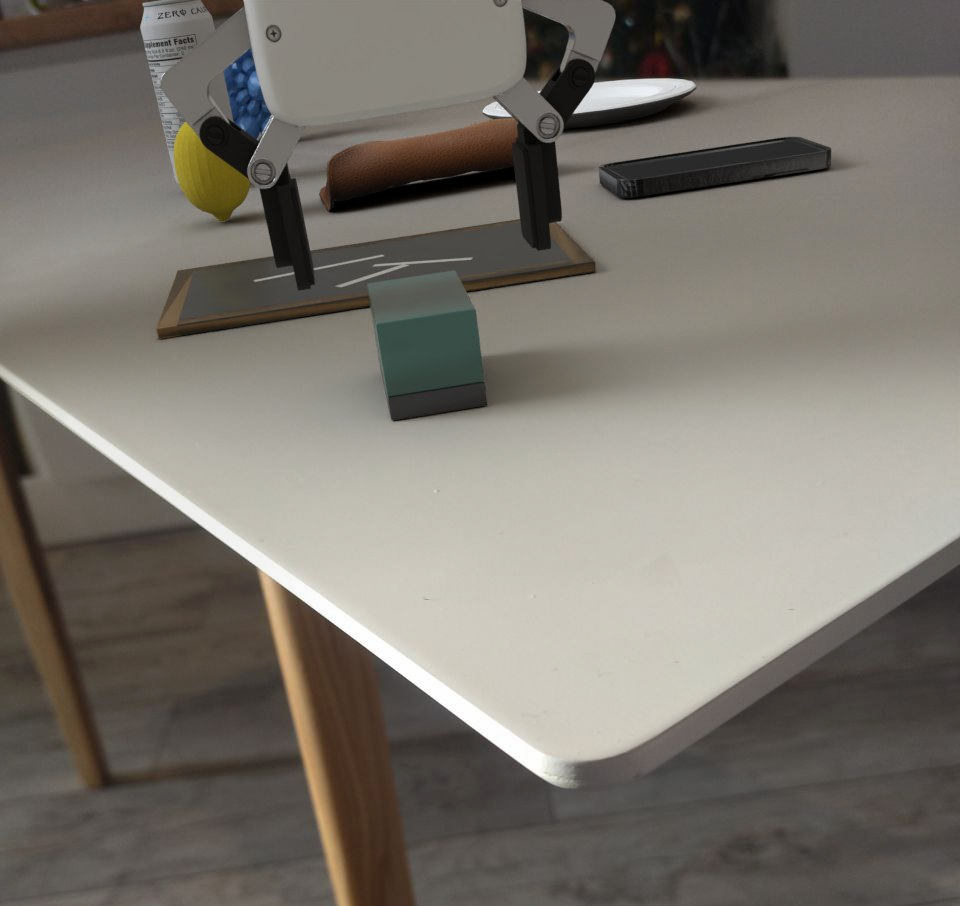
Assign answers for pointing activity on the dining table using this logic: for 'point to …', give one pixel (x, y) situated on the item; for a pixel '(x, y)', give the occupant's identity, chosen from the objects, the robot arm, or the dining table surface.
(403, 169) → the sunglasses case
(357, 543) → the dining table surface
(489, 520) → the dining table surface
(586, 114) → the plate
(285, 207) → the robot arm
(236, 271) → the slate board
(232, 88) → the grapes
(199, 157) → the lemon
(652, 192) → the phone
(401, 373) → the eraser
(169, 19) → the energy drink can
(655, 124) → the dining table surface
